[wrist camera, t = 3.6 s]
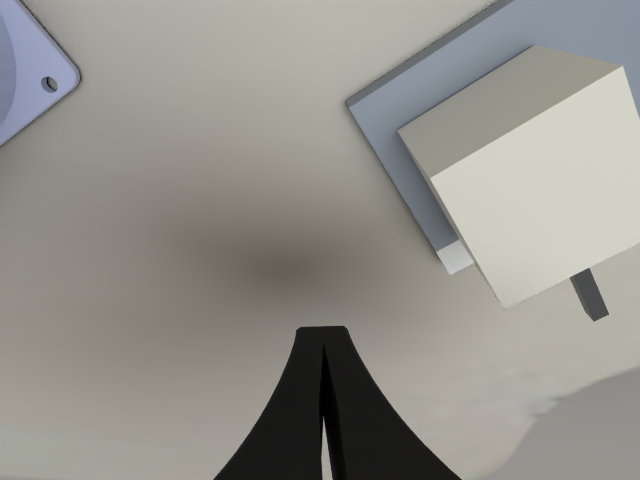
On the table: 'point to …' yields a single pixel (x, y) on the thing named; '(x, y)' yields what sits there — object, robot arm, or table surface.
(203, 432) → the table surface
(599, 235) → the off-white block with tab
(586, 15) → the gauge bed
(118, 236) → the table surface
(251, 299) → the table surface
